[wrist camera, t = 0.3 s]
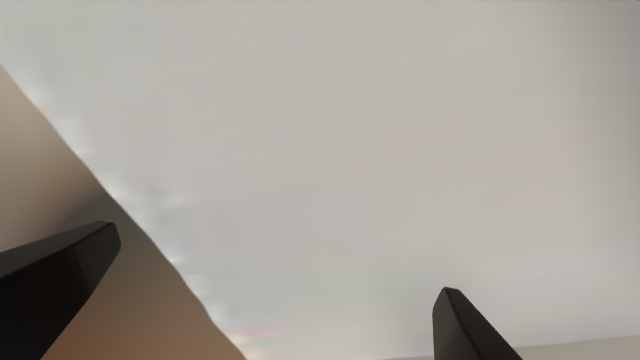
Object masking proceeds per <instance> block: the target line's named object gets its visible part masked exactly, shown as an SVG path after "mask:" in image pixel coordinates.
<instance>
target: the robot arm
mask: <svg viewBox="0 0 640 360" xmlns="http://www.w3.org/2000/svg"><path fill="white" fill-rule="evenodd" d="M120 249H121V240H120V236H119V233H118V229H117V225H116V224H115V223H114V222H112V221H106V220H97V221H94V222H91V223H88V224H85V225H82V226H79V227H75V228H72V229H69V230H67V231H63V232H61V233H57V234H54V235H52V236H49V237H45V238H42V239H39V240H37V241H33V242H31V243H27V244H24V245H21V246H18V247H16V248H12V249H9V250H6V251H3V252H0V360H40V359H41V358H42V357H43V355H44V354H45V353H46V352H47V350H48V349H49V348H50V347H51V345H52V344H53V343H54V342H55V340H56V339H57V338H58V337H59V335H60V334H61V333H62V332H63V330H64V329H65V328H66V327H67V325H68V324H69V323H70V322H71V320H72V319H73V318H74V317H75V315H76V314H77V313H78V312H79V310H80V309H81V308H82V307H83V305H84V304H85V303H86V302H87V300H88V299H89V298H90V296H91V295H92V294H93V292H94V290H95V289H96V288H97V286H98V285H99V283H100V282H101V280H102V278H103V277H104V275H105V274H106V272H107V271H108V269H109V268H110V266H111V264H112V263H113V261H114V260H115V258H116V256H117V255H118V253H119V251H120ZM432 318H433V339H434V359H435V360H523V359H522V358H521V357H520V356H519V355H518V354H517V353H516V351H514V349H513V348H512V347H511V346H510V345H509V344H508V343H507V342H506V340H505V339H504V338H503V337H502V336H501V335H500V334H499V333H498V332H497V331H496V330H495V328H494V327H493V326H492V325H491V324H490V323H489V322H488V321H487V320H486V319H485V317H484V316H483V315H482V314H481V313H480V312H479V311H478V310H477V309H476V308H475V306H474V305H473V304H472V303H471V302H470V301H469V300H468V299H467V298H466V297H465V295H464V294H463V293H462V292H461V291H460V290H458V289H454V288H449V287H444V288H443V289H442V290H441V292H440V294H439V296H438V298H437V300H436V302H435V304H434V307H433V313H432Z"/></svg>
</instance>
